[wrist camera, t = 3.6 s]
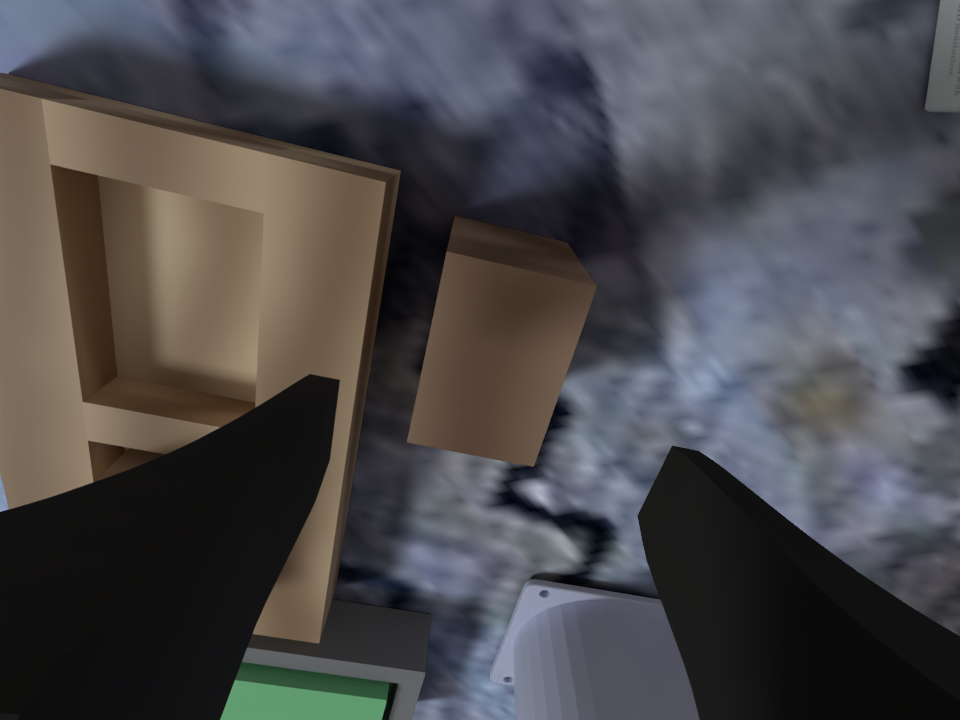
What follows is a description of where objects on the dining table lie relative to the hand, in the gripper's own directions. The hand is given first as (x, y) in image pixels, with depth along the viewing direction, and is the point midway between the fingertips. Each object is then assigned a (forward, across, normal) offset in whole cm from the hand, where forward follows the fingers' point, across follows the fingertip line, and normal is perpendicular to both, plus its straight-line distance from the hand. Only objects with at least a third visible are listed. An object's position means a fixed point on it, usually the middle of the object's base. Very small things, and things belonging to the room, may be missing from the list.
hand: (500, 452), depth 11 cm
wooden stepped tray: (+9, +10, +6) cm, 15 cm away
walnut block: (+9, 0, 0) cm, 9 cm away
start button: (+7, +5, +21) cm, 23 cm away
